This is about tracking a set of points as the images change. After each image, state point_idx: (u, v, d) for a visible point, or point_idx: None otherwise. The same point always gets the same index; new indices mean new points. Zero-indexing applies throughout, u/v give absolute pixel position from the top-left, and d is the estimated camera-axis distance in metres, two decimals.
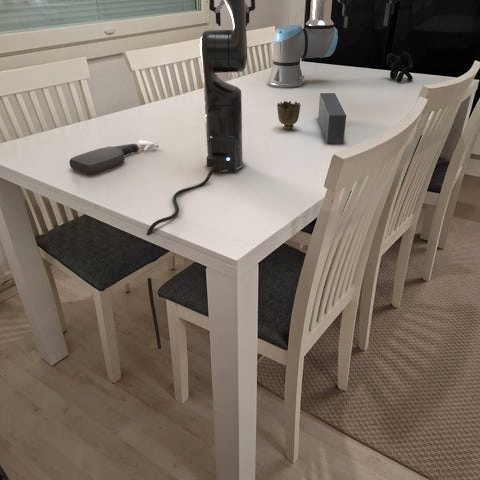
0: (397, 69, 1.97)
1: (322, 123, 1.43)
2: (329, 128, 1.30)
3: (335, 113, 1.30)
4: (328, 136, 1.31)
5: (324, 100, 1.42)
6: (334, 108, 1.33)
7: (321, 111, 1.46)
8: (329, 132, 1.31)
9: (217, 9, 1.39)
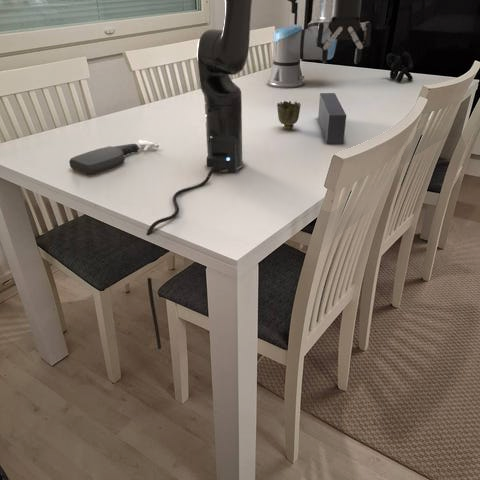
0: (397, 69, 1.97)
1: (322, 123, 1.43)
2: (329, 128, 1.30)
3: (335, 113, 1.30)
4: (328, 136, 1.31)
5: (324, 100, 1.42)
6: (334, 108, 1.33)
7: (321, 111, 1.46)
8: (329, 132, 1.31)
9: (325, 45, 1.21)
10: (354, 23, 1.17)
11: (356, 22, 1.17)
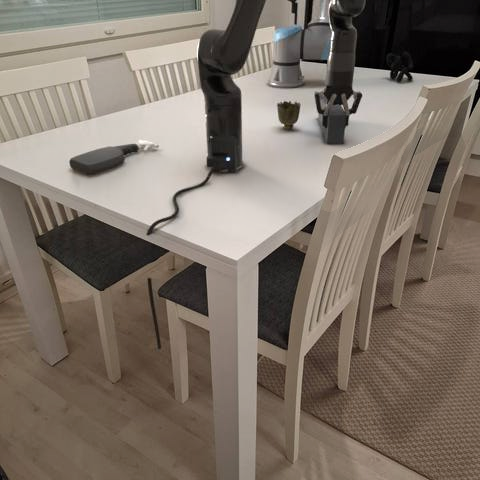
0: (397, 69, 1.97)
1: None
2: (329, 128, 1.30)
3: (335, 113, 1.30)
4: (328, 136, 1.31)
5: (324, 100, 1.42)
6: (334, 108, 1.33)
7: None
8: (329, 132, 1.31)
9: (326, 112, 1.30)
10: (348, 90, 1.27)
11: (350, 89, 1.26)
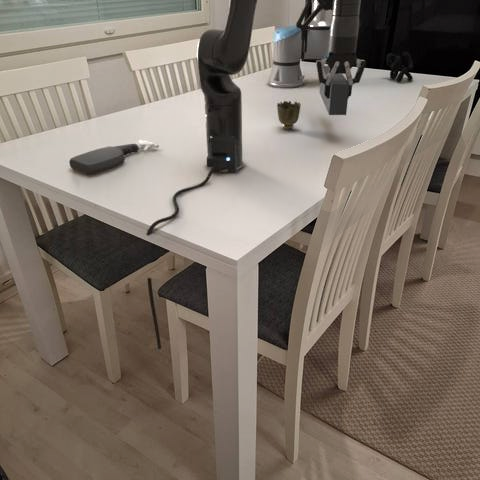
0: (397, 69, 1.97)
1: (324, 96, 1.38)
2: (331, 98, 1.25)
3: (338, 82, 1.25)
4: (330, 106, 1.27)
5: (326, 72, 1.37)
6: (336, 78, 1.29)
7: (323, 84, 1.41)
8: (331, 102, 1.26)
9: (328, 81, 1.25)
10: (351, 57, 1.22)
11: (353, 57, 1.22)
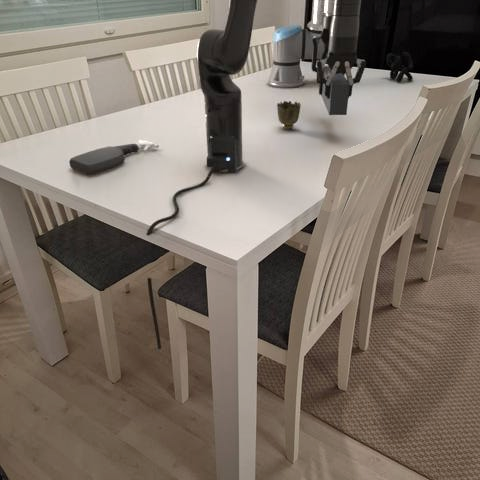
0: (397, 69, 1.97)
1: (324, 96, 1.38)
2: (332, 98, 1.25)
3: (338, 82, 1.25)
4: (331, 106, 1.27)
5: (326, 72, 1.37)
6: (336, 78, 1.29)
7: (323, 84, 1.41)
8: (332, 102, 1.26)
9: (328, 81, 1.25)
10: (351, 57, 1.22)
11: (353, 57, 1.22)
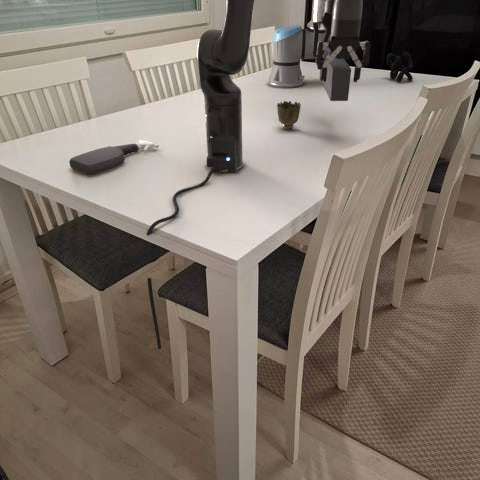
0: (397, 69, 1.97)
1: (325, 82, 1.36)
2: (333, 83, 1.24)
3: (339, 67, 1.23)
4: (332, 92, 1.25)
5: None
6: (338, 64, 1.27)
7: None
8: (333, 88, 1.24)
9: (325, 64, 1.22)
10: (353, 42, 1.19)
11: (355, 41, 1.18)
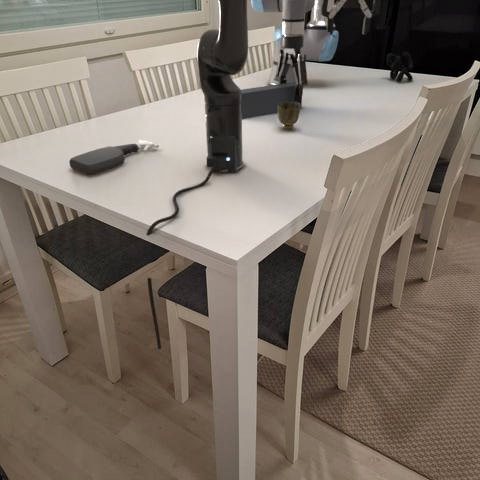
0: (397, 69, 1.97)
1: None
2: None
3: (241, 91, 1.54)
4: None
5: (273, 85, 1.60)
6: (252, 89, 1.55)
7: None
8: None
9: (331, 14, 1.11)
10: None
11: None
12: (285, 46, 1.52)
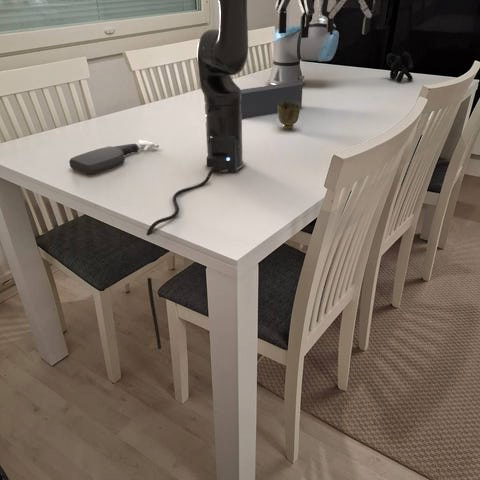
0: (397, 69, 1.97)
1: None
2: None
3: (241, 91, 1.54)
4: None
5: (273, 85, 1.60)
6: (252, 89, 1.55)
7: None
8: None
9: (331, 14, 1.11)
10: None
11: None
12: None
